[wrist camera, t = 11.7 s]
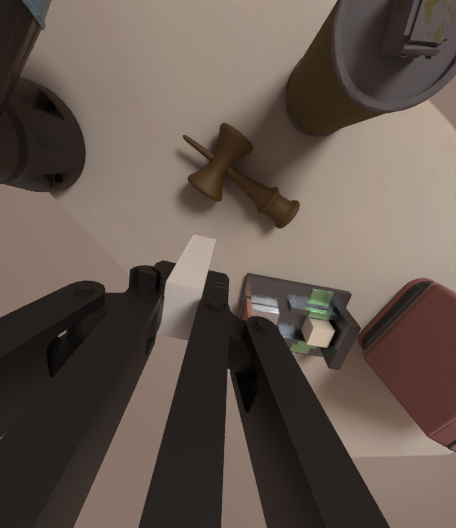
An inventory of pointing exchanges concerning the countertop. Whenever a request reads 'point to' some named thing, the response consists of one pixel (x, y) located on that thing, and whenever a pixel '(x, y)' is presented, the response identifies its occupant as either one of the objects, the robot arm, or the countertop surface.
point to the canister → (372, 62)
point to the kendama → (239, 176)
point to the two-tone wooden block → (260, 311)
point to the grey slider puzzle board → (305, 314)
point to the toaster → (418, 355)
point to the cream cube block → (317, 331)
